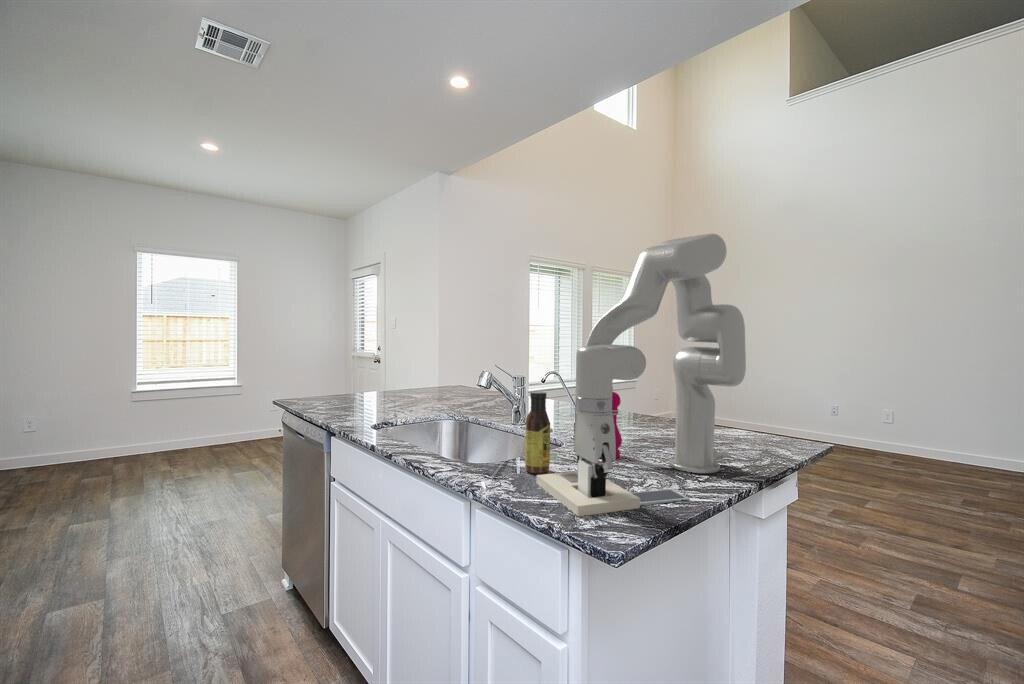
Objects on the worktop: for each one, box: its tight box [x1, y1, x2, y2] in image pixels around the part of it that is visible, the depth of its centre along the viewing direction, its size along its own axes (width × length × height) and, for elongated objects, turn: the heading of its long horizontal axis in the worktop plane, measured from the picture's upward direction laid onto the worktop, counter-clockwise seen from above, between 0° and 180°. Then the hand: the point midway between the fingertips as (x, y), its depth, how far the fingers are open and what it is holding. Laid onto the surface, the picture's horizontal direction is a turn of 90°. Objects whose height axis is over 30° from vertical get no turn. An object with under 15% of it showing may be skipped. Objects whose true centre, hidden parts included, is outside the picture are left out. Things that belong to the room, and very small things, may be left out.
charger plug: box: [577, 459, 606, 498], centre depth 98 cm, size 4×4×7 cm
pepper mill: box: [612, 386, 623, 459], centre depth 133 cm, size 7×7×20 cm
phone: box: [631, 488, 690, 506], centre depth 100 cm, size 12×6×1 cm, turn 107°
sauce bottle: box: [524, 391, 551, 475], centre depth 117 cm, size 6×6×20 cm
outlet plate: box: [536, 470, 641, 517], centre depth 101 cm, size 14×20×2 cm
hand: (591, 491), depth 98 cm, fingers closed on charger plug, 4 cm apart
